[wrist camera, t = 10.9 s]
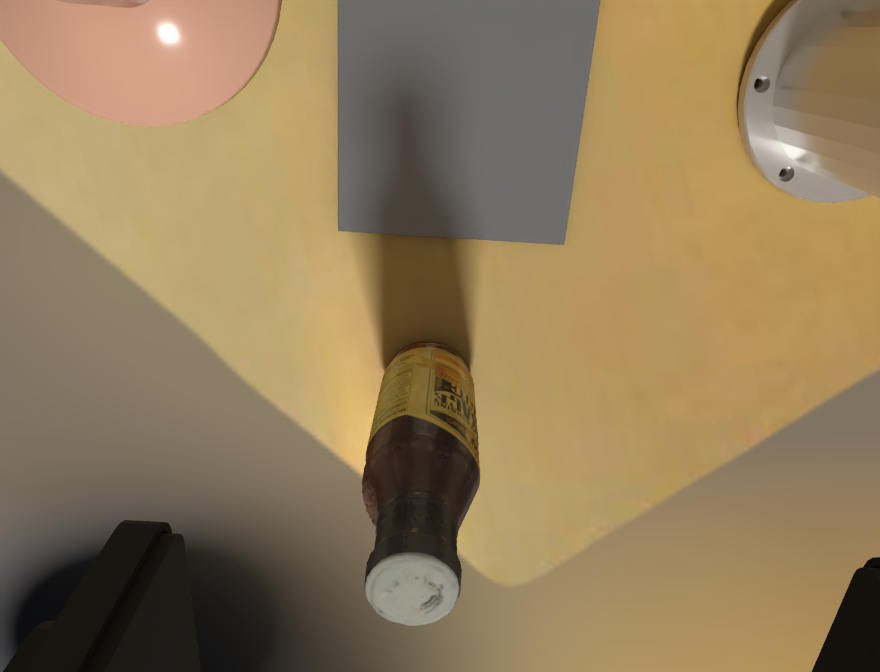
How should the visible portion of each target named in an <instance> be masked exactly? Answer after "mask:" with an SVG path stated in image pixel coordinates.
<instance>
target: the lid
mask: <svg viewBox="0 0 880 672" xmlns="http://www.w3.org/2000/svg"><path fill="white" fill-rule="evenodd" d="M281 4H282V0H0V39H1V41H2V42H3V43H4V44H5V46H6V47H7V48H8V50H9V51H10V52H11V53H12V55H13V56H14V57H15V58H16V60H17V61H18V62H19V63H20V64H21V65H22V66H23V67H24V68H25V69H26V70H27V71H28V72H29V73H30V74H31V75H32V76H33V77H34V78H36V79H37V80H38V81H39V82H40V83H41V84H43V85H44V86H45V87H46V88H47V89H49V90H50V91H51V92H53V93H54V94H56V95H57V96H59V97H60V98H62V99H63V100H65V101H66V102H68V103H70V104H72V105H74V106H76V107H77V108H79V109H81V110H83V111H85V112H88V113H90V114H93V115H95V116H98V117H100V118H103V119H107V120H110V121H114V122H118V123H122V124H129V125H137V126H162V125H169V124H177V123H180V122H184V121H187V120H190V119H194V118H197V117H200V116H202V115H205V114H207V113H209V112H211V111H213V110H215V109H217V108H219V107H220V106H222V105H223V104H225V103H226V102H228V101H230V100H231V99H232V98H233V97H235V96H236V95H237V94H238V93H239V92H240V91H241V90H242V89H243V88H245V86H246V85H247V84H248V83H249V82H250V80H251V79H252V78H253V77H254V75H255V74H256V73H257V71H258V70H259V68H260V66H261V65H262V63H263V61H264V60H265V58H266V56H267V54H268V51H269V49H270V47H271V44H272V42H273V40H274V36H275V33H276V29H277V26H278V22H279V17H280V10H281Z"/></svg>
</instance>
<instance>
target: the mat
mask: <svg viewBox="0 0 880 672" xmlns="http://www.w3.org/2000/svg"><path fill="white" fill-rule="evenodd" d="M599 6H600V0H338V231H348V232H364V233H380V234H397V235H413V236H429V237H445V238H461V239H477V240H493V241H509V242H526V243H542V244H558V245H564V243H565V236H566V229H567V222H568V216H569V209H570V202H571V195H572V189H573V182H574V175H575V168H576V161H577V155H578V148H579V141H580V134H581V128H582V121H583V114H584V107H585V101H586V94H587V87H588V80H589V74H590V67H591V60H592V53H593V47H594V40H595V33H596V26H597V20H598V13H599Z"/></svg>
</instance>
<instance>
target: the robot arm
mask: <svg viewBox="0 0 880 672" xmlns="http://www.w3.org/2000/svg"><path fill="white" fill-rule="evenodd" d="M756 79H758V80H759V85H758V86H757V87H756V88H754V83H755V81H756ZM738 121H739V131H740V135H741V138H742V142H743V145H744V149H745V151H746V153H747V155H748V156H749V158H750V160H751V162H752V164H753V165H754V167H755V168H756V169H757V170H758V171H759V172H760V174H761V175H762V176H763V177H764V178H765V179H766V180H767V181H769V182H770V183H771V184H773V185H774V186H776V187H777V188H779V189H780V190H782V191H784V192H787V193H789V194H791V195H793V196H795V197H798V198H802V199H805V200H809V201H813V202H823V203H839V202H847V201H855V200H858V199H861V198H865V197H868V196H871V195H874V196H876V197H879V198H880V0H791V1H790V2H789V3H788V4H787V5H786V6H785V7H784V8H783V9H782V10H781V12H780V13H779V14H778V15H777V16H776V17H775V18H774V19H773V20H772V21H771V23H770V24H769V26H768V27H767V29H766V30H765V32H764V33H763V34H762V36H761V37H760V39H759V40H758V42H757V44H756V46H755V48H754V50H753V52H752V54H751V56H750V59H749V61H748V63H747V65H746V68H745V72H744V75H743V79H742V82H741V86H740V92H739V102H738ZM782 169H783V173H782V174H781V175H779V173H780V171H781V170H782ZM3 672H200V663H199V655H198V647H197V639H196V631H195V623H194V615H193V608H192V600H191V592H190V584H189V576H188V568H187V559H186V551H185V544H184V539H183V536H182V535H181V534H172V531H171V527H170V525H169V524H168V523H166V522H150V521H130V520H125V521H123V522H121V523H120V524H119V525H118V526H117V528H116V529H115V530H114V532H113V533H112V535H111V536H110V538H109V540H108V541H107V543H106V544H105V546H104V547H103V549H102V550H101V552H100V553H99V555H98V556H97V558H96V559H95V561H94V562H93V564H92V566H91V567H90V569H89V570H88V572H87V573H86V575H85V576H84V578H83V579H82V581H81V582H80V584H79V585H78V587H77V588H76V590H75V592H74V593H73V595H72V596H71V598H70V600H69V601H68V602H67V604H66V606H65V607H64V608H63V610H62V611H61V613H60V614H59V616H58V618H57V619H56V621H48V622H43V623H41V624H40V625H38V626H37V627H36V628H34V629H33V631H32V632H31V633H30V635H28V637H27V638H26V639H25V640H24V642H23V643H22V645H21V646H20V648H19V649H18V651H17V652H16V653H15V655H14V656H13V658H12V659H11V661H10V662H9V664H8V665H7V667H6V668H5V670H4V671H3ZM812 672H880V558H879V557H877V558H872V559H870V560H868V561H867V562H866V564H865V565H864V567H863V568H859V569H857V570H856V572H855V573H854V575H853V577H852V580H851V582H850V584H849V587H848V589H847V591H846V594H845V596H844V598H843V601H842V603H841V605H840V607H839V610H838V612H837V615H836V617H835V619H834V622H833V624H832V626H831V628H830V631H829V633H828V635H827V638H826V640H825V642H824V644H823V647H822V649H821V652H820V654H819V656H818V658H817V661H816V663H815V665H814V668H813V670H812Z"/></svg>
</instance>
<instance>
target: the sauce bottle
mask: <svg viewBox="0 0 880 672" xmlns="http://www.w3.org/2000/svg"><path fill="white" fill-rule="evenodd" d="M479 484H480V467H479V452H478V433H477V419H476V408H475V393H474V383H473V379H472V376H471V374H470V370H469V368H468V365H467V364H466V363H465V361H464V360H463V359H462V358H461V357H460V356H459V355H458V354H457V353H456V352H455V351H453V350H451V349H450V348H448V347H447V346H446V345H443V344H438V343H416V344H412V345H409V346H408V347H406V348H405V349H403V350H402V351H400V352H399V353H398V354H397V355H396V356H395V357H394V358H393V360H392V361H391V362H390V363H389V364H388V366H387V368H386V370H385V373H384V375H383V379H382V383H381V387H380V392H379V397H378V401H377V406H376V410H375V415H374V419H373V424H372V428H371V433H370V437H369V442H368V446H367V451H366V465H365V468H364V473H363V478H362V493H363V499H364V502H365V506H366V510H367V512H368V514H369V516H370V517H371V519H372V522H373V524H374V525H375V526H376V535H377V536H376V541H375V548H374V550H373V552H372V553H371V554H370V557H369V559H368V562H367V568H366V575H365V593H366V597H367V599H368V601H369V603H370V604H371V605H372V606H373V607H374V609H375V610H376V612H377V613H378V614H380V615H381V616H383V617H384V618H386V619H388V620H390V621H392V622H398V623H402V624H405V625H412V626H413V625H423V624H428V623H432V622H435V621H437V620H439V619H441V618H442V617H444V616H445V615H447V614H448V613H449V612H450V611H451V609H452V608H453V606H454V605H455V603H456V601H457V599H458V597H459V595H460V589H461V588H460V587H461V571H462V570H461V564H460V561H459V559H458V556H457V539H456V538H457V535H458V530H459V528H460V526H461V524H462V522H463V520H464V518H465V515H466V513H467V511H468V509H469V507H470V505H471V503H472V501H473V498H474V496H475V494H476V492H477V490H478V487H479Z"/></svg>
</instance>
